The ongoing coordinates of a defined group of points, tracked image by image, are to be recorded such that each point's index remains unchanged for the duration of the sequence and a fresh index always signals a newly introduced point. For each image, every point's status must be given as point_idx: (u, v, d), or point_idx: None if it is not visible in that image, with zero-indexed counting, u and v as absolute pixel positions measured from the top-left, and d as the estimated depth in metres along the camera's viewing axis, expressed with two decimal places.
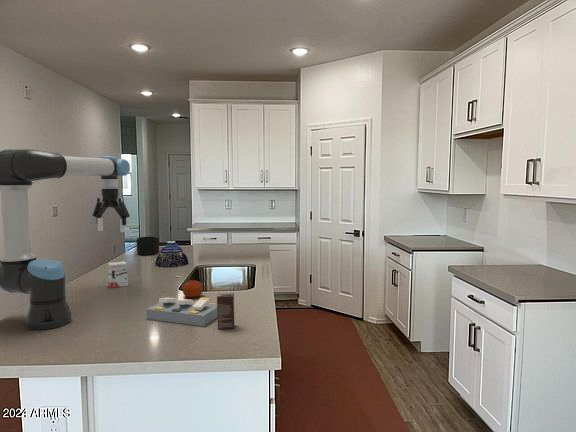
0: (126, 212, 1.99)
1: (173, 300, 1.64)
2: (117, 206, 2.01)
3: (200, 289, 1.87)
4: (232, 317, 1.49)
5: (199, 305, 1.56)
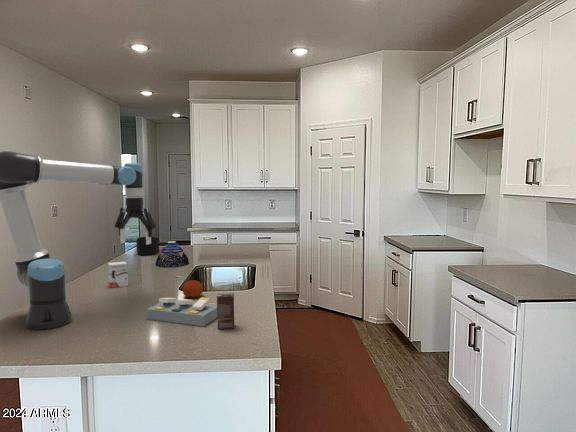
0: (152, 223, 1.87)
1: (173, 300, 1.64)
2: (142, 216, 1.88)
3: (200, 289, 1.87)
4: (232, 317, 1.49)
5: (199, 305, 1.56)
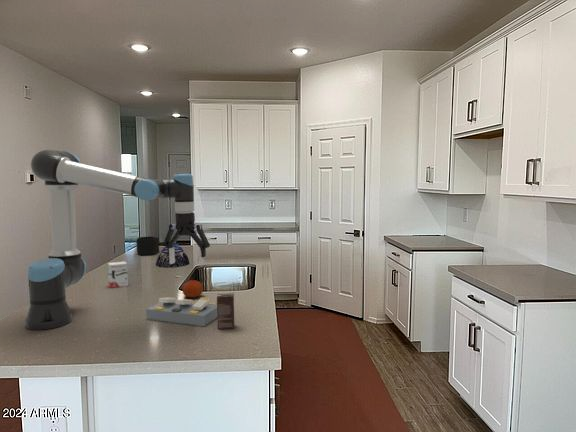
0: (206, 241, 1.65)
1: (173, 300, 1.64)
2: (194, 234, 1.66)
3: (200, 289, 1.87)
4: (232, 317, 1.49)
5: (199, 305, 1.56)
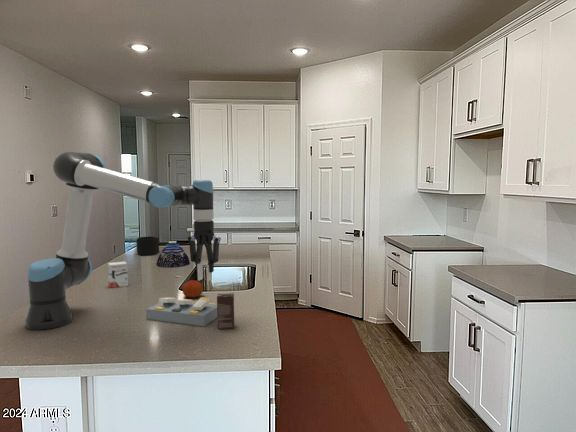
0: (216, 257, 1.58)
1: (173, 300, 1.64)
2: (209, 246, 1.59)
3: (200, 289, 1.87)
4: (232, 317, 1.49)
5: (199, 305, 1.56)
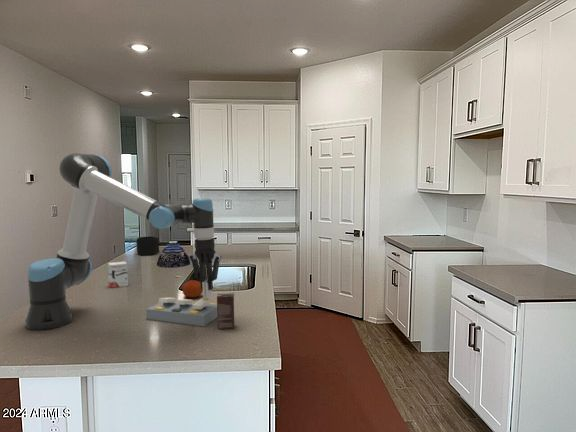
0: (216, 274, 1.60)
1: (173, 300, 1.64)
2: (210, 264, 1.60)
3: (200, 289, 1.87)
4: (232, 317, 1.49)
5: (199, 304, 1.56)
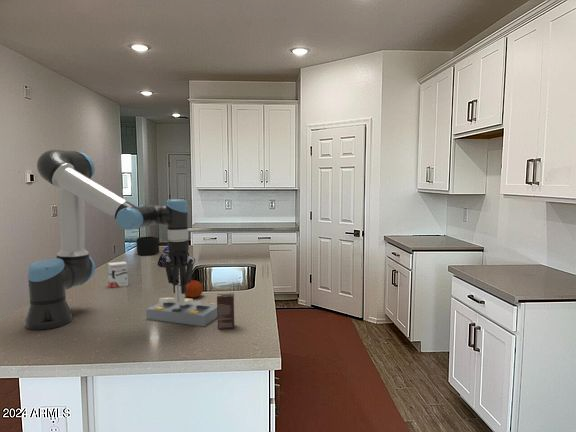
0: (189, 278, 1.55)
1: (173, 300, 1.64)
2: (183, 266, 1.56)
3: (200, 289, 1.87)
4: (232, 317, 1.49)
5: None
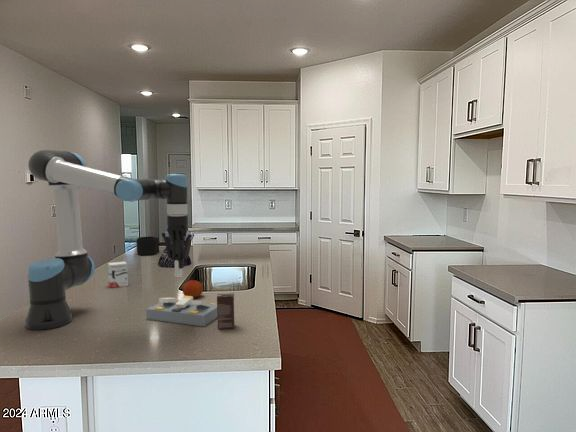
0: (187, 253, 1.56)
1: (173, 300, 1.64)
2: (182, 241, 1.56)
3: (200, 289, 1.87)
4: (232, 317, 1.49)
5: (200, 301, 1.57)
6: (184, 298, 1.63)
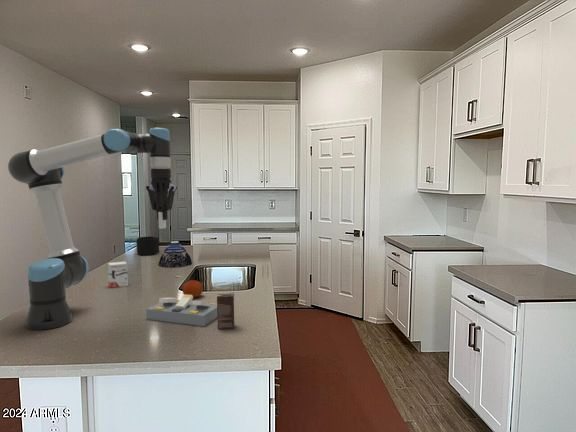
0: (170, 204, 1.62)
1: (173, 300, 1.64)
2: (165, 194, 1.62)
3: (200, 289, 1.87)
4: (232, 317, 1.49)
5: (200, 301, 1.57)
6: (184, 298, 1.62)
